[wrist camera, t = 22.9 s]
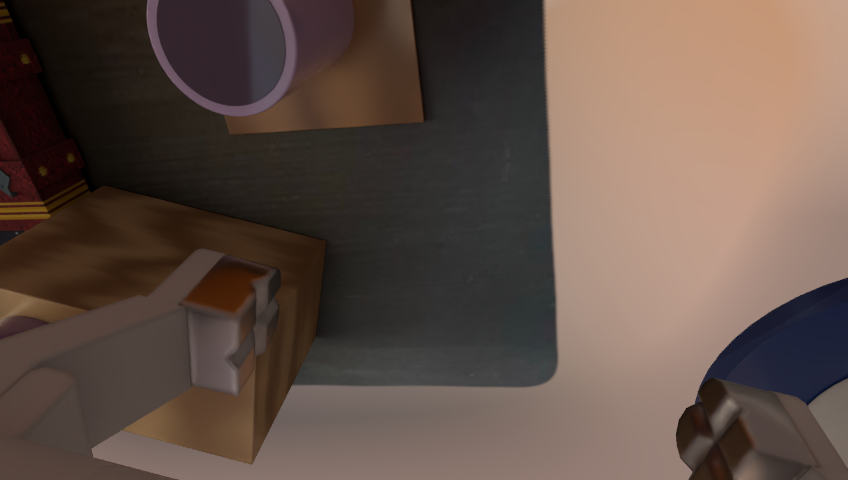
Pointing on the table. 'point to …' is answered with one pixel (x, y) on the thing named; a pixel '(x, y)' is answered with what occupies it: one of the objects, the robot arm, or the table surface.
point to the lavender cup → (247, 47)
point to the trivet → (355, 79)
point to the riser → (143, 272)
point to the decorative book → (31, 140)
